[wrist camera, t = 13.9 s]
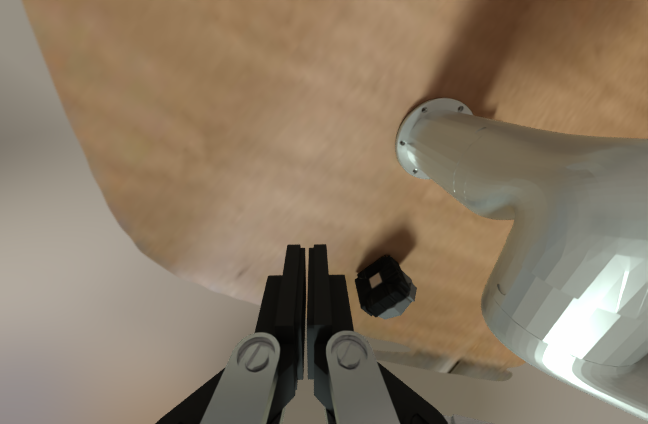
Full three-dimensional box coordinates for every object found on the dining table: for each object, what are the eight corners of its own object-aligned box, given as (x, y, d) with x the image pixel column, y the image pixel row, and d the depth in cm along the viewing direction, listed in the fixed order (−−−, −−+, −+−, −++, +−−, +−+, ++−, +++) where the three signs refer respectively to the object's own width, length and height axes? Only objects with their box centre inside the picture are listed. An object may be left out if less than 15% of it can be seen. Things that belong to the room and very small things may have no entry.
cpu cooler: (367, 289, 55) (377, 330, 46) (350, 276, 53) (358, 315, 44) (404, 263, 52) (424, 301, 43) (389, 248, 50) (406, 284, 41)
